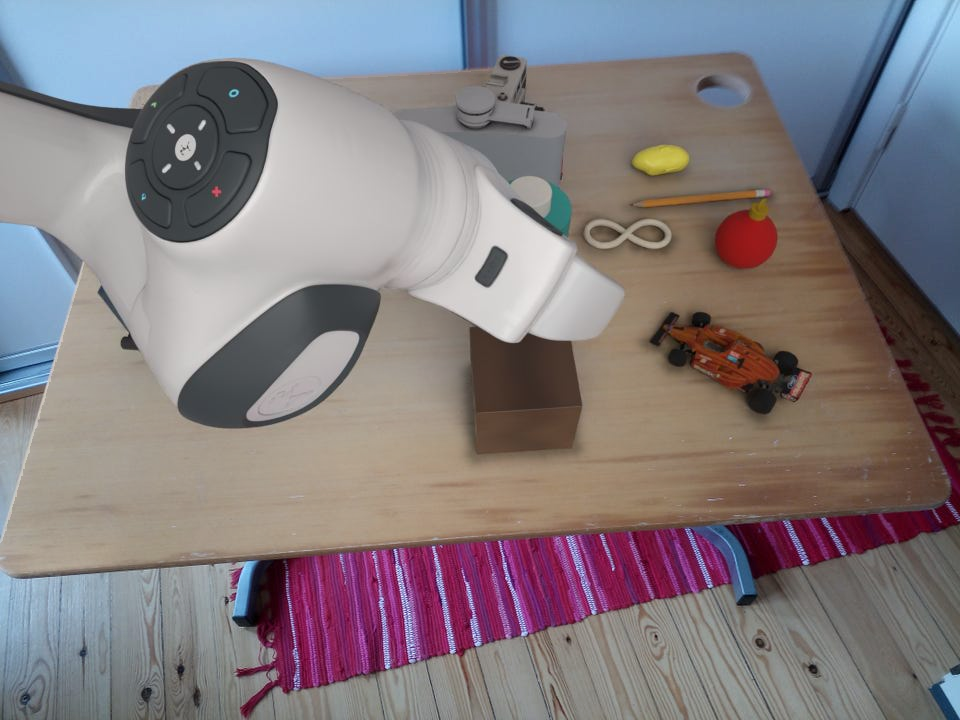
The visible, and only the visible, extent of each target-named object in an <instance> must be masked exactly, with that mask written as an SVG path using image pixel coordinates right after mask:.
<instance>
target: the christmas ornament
mask: <svg viewBox="0 0 960 720" xmlns="http://www.w3.org/2000/svg"><path fill="white" fill-rule="evenodd" d="M767 201H768V199H767V198H766V197H763V198H762V199H761V200H760V201H756V202H753V203H752V204H751V205H750V208H749V209H742V210H737V211H735V212H733V213H731V214H729V215H728V216H726V217H725V218H724V219H723V220H722V221H721V223H720V224H719V226H718V227H717V229H716V232H715V234H714V235H715V236H714V246H715V249H716V250H715V251H716V253H717V255H718V256H719V258H720V259H721V260H722V261H723V262H724V263H725V264H727V265H728V266H730V267H732V268H735V269H739V270H747V269H748V270H749V269H754V268H756V267H759V266H761V265H762V264H764V263H766V262H767V261H768V260H769V259H770V258H771V257H772V256H773V254H774V252H775V250H776V248H777V245H778V239H779V238H778V229H777V227H776V225H775V223H774V222H773V220H772V219H771V217H769V216H768V214H769V212H770V207H769V206H768V205H767V204H766V203H767Z"/></svg>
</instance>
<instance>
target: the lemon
mask: <svg viewBox="0 0 960 720" xmlns="http://www.w3.org/2000/svg"><path fill="white" fill-rule="evenodd" d="M690 159H691V158H690V155H689V153H688V152H687V151H686V150H685V149H684V148H682V147H681V146H678V145H674V144H658V145H654V146H649V147H647V148H644V149H642V150H640V151H638V152H637V153H636V154H635V155H634V156H633V158H632V160H631V164H632V166H633V167H634V168H635V169H637V170H639V171H641V172H644V173H646V174H647V175H649V176H658V175H662V174H670V173H677V172H680V171H682V170H684V169H685V168H686V167H687V166H688V165H689V163H690Z"/></svg>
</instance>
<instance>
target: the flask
mask: <svg viewBox="0 0 960 720" xmlns="http://www.w3.org/2000/svg"><path fill="white" fill-rule="evenodd" d="M454 99H455V105H444V106H431V107H417V108H404V109H399V110H398V109H397V110H395V111H393V112H392V113H393V114H394V115H395V116H396V117H397V118H398V119H399V120H409V121H414V122H418V123H421V124H424V125H426V126H428V127H430V128H432V129H435V130H437V131H439V132H441V133H443V134H445V135H447V136H449V137H451V138H453V139H455V140H458V141H460V142H462V143H464V144H466V145H468V146H470V147H472V148H474V149H476V150H478V151H479V152H481V153H482V154H483V155H484V156H486V157H487V158H488V159H489V160H490V161H491V163H492V164H493V165H494V166H495V168H496V170H497V171H498V173H499V174H500V175H501V176H502V177H503V178H504V179H505V180H506V181H510V180H514V179H518V178H520V177H524V176H534V177H539V178H541V179H543V180H545V181H547V182H550V183H552V184H554V185H556V186H557V187H559V188H560V185H561V184H560V183H561V180H560V176H561V168H562V169H563V167H562V160H563V161H564V152H565V143H566V135H567V134H566V133H567V122H566V121H565V118H563V116H561V115H560V114H559V113H555V112H551V111H546V112H544V111H535V110H534V106H531V105H523V104H515V103H508V102H500V101H495V95H494V94H493V92H492V91H491V90H489V89H488V88H485V86H480V85H471V86H467V87H463V88H462V89H460V90H458V92H457V93H456V95H455V98H454Z"/></svg>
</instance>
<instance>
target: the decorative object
mask: <svg viewBox="0 0 960 720" xmlns="http://www.w3.org/2000/svg"><path fill="white" fill-rule="evenodd" d="M598 226H603V227H607V228H609V229H612V230H614V231H616V232H617V233H619V234H620V235H619V236H618V237H616V238H615V239H613V240H611V241H606V242H605V241H603V242H602V241H598V240H596V239H595V238H593V236H592V235H591V231H592V229H593V228H594V227H595V228H596V227H598ZM645 226H653V227H657V228H659V229H660V230H661V231H662V232H663V234H664V238H663V239H662V240H660V241H648V240H645V239H643V238H640V237H639V236H636V235H634V234H633V233H634V232H635V231H636V230H638V229H640V228H642V227H645ZM582 234H583V238H584V240H585V241H586V242H587V243H588V245H590V246H592V247H594V248H596V249H601V250H609V249H613V248H616V247H618V246H619V245H621V244H622V243H624V241H626V240H628V241H630V242H632V243H634V244H635V245H637V246H640V247H643V248H645V249H651V250H656V249H658V250H659V249H662V248H665V247H666V246H667V245H669V243H670V242H671V240H672V230H671V229H670V227H669V226H668V225H667V224H666V223H664V222H663V221H661V220H659V219H654V218H644V219H643V218H642V219H639V220H638V221H637V220H636V221H635V222H633V223H632V224H630V226H628V227H627V228H624V226H622V225H620V224H619V223H617V222H616V221H615V222H614V221H613V220H610V219H606V218H596V219H593V220H591V221H589V222H587V223H586V225H585V226H584V229H583V233H582Z"/></svg>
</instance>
